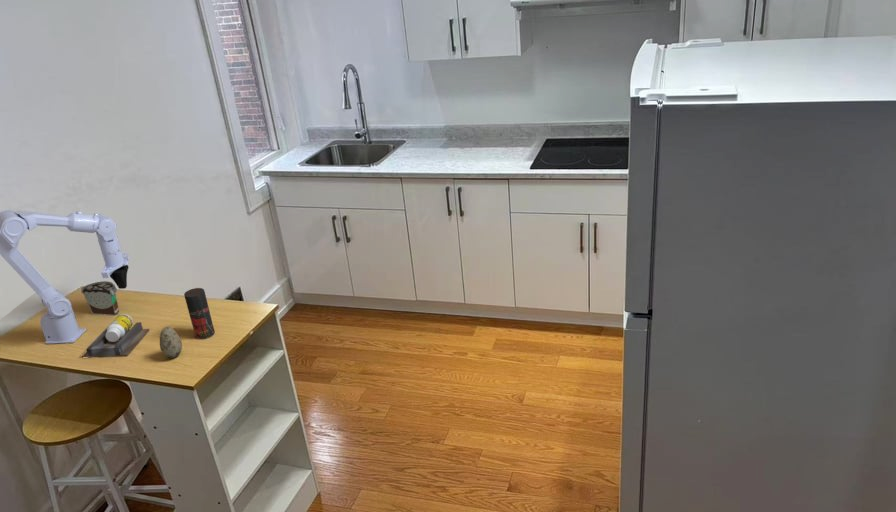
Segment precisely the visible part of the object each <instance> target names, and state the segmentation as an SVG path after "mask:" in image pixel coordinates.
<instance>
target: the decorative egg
mask: <svg viewBox="0 0 896 512" xmlns="http://www.w3.org/2000/svg"><path fill="white" fill-rule="evenodd" d="M159 348H160V350H161V353H162V355H164V356H165V357H167V358H176V357H178V356H179V355H180V354H181V352H182V350H183V343H182V340H181V338H180V335H178V333H177V332H176V331H175V329H173V327H170V326H165V327H164V328H162V329H161V331H160V336H159Z"/></svg>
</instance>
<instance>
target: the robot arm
mask: <svg viewBox="0 0 896 512" xmlns="http://www.w3.org/2000/svg"><path fill="white" fill-rule="evenodd" d="M38 226H40V227H41V226H43V227H62V228H63V227H64V228H66V229H68V230H69V232H78V233H89V234H94V233H96V237H97V241H98V245H99V249H100V251H101V254H102V258H103V261H104V267H103V270H102V271H101V272H100V274H101V277H102V278H103V279H109V278H110V279H112V280H113V282H114V284H115V286H116V287H117V289H120V290H121V289H122V290H123V289H126V288H127V286H128V285H127V284H128V281H127V279H128V276H127V275H128V270H129V265H128V264H129V260H130V259H131V257H130V255H129V253H123V251H122V248H121V244H120V241H119V238H118V235H117V232H116V231H117V224H116V222H115V221H114V220H113V219H112V218H110V217H109V216H107V215H105V214H103V213H93V214H86V213H83V212H82V211H76V212H71V213H70V214H68V215H59V214H53V213H43V212H38V211H37V212H36V211H27V210H15V211H13V210H10V209H9V210H3V211H1V212H0V255H1V257H2V258H3V259H4V261H6V262H7V263H8V264H9V266H10V267H12V268H13V270H14V271H15V272H16V273H17V274H18V275H19V276H20V277H21V278H22V279H23V280H24V281H25V283H26V284H27V285H28V286H29V287H30V288H31V289H32V290H33V291H34V293H36V294H37V295H38V296H39V298H40V300H41V304H42V306H44V307H45V309H47V312H45V313H43V314H42V316H41V317H40V320H39V321H40V322H39V324H40V327H41V330H42V332H43V335H44V338H45V342H44V344H46V345H47V344H49V345H50V344H69V343H71V344H72V343H75V342H76V341H77V340H78V339H79V338H80V337H81V336H82V335H83V334H84V333H85V332H86V331H87V328H80V327H79V324H78V322H77V318H76V316H75V313H74V310H73V307H72V302H71V301H70V299H68V298H66V296H65V295H64V293H63V292H62V291H60V290H58V289H56V288H54V287H53V286H52V285H51V284H50V282H48V281H47V280H46V278H45V277H44V276H43V275H42V274H41V273H40V272H39V271H38V270H37V268H36V267H35V266H34V265H33V264H32V263H31V262H30V260H28V259H27V257H26V256H25V255H24V254H23V253H22V252H21V251H20V250H19V248H18V247H19V242H20V240H21V239H22V238H23V236H24V235H25V234H26V232H27V230H28V231H29V232H30V231H32V230H34V229H36V228H37V227H38Z"/></svg>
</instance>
